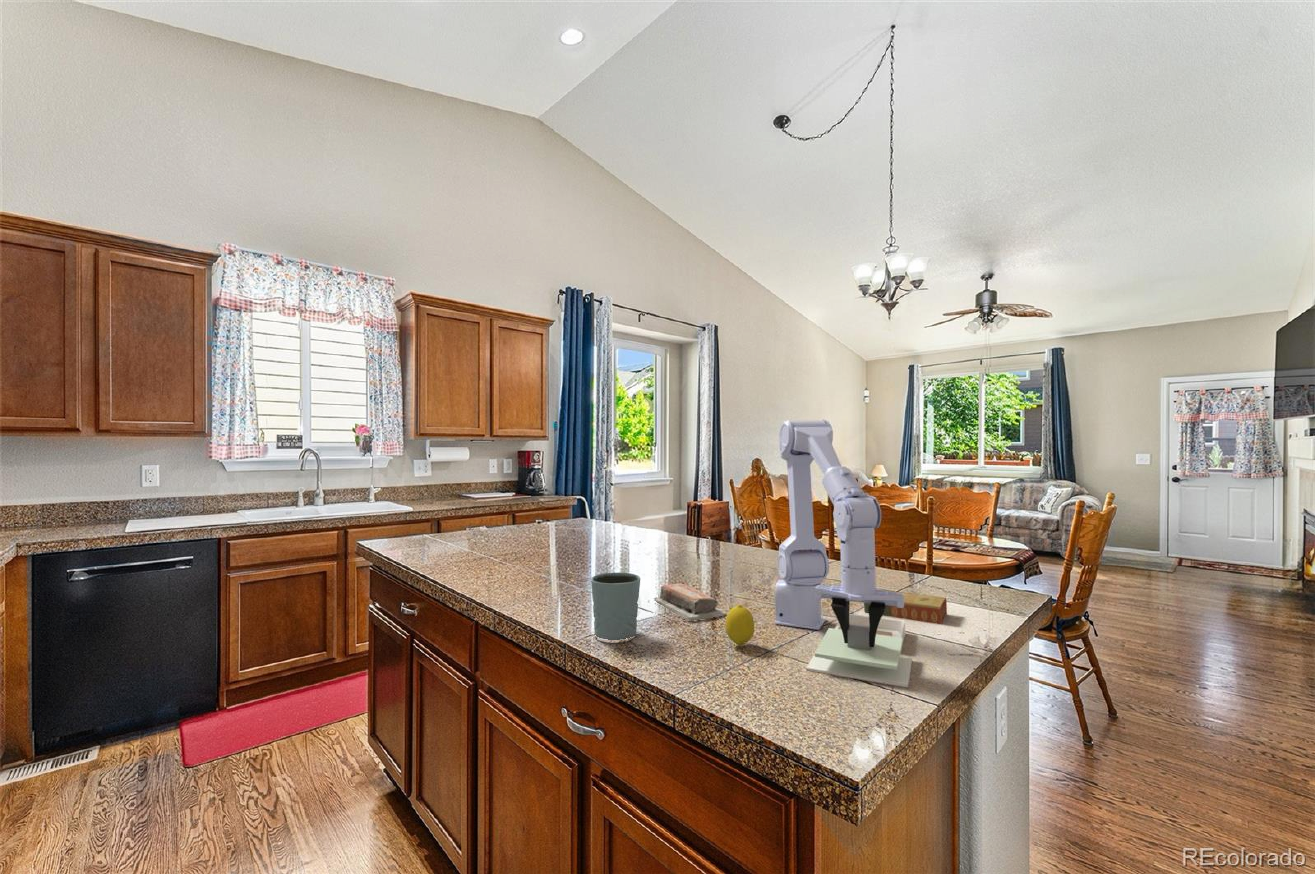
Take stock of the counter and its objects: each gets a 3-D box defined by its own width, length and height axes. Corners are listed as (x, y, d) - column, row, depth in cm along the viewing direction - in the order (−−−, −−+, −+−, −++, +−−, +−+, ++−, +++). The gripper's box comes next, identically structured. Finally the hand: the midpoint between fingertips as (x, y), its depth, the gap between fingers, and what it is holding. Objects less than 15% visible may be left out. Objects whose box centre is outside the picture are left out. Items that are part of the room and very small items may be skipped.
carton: (941, 626, 117) (941, 606, 117) (863, 614, 127) (863, 595, 127) (947, 615, 124) (946, 596, 124) (872, 604, 133) (872, 587, 134)
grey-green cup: (581, 636, 114) (581, 578, 114) (617, 624, 121) (616, 569, 121) (615, 648, 107) (614, 586, 107) (651, 634, 114) (650, 576, 115)
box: (833, 643, 108) (833, 630, 108) (843, 624, 118) (843, 613, 118) (901, 653, 102) (900, 639, 102) (905, 632, 113) (905, 620, 113)
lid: (814, 660, 94) (814, 635, 94) (829, 634, 106) (828, 612, 106) (897, 674, 88) (896, 647, 88) (903, 644, 100) (902, 621, 100)
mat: (806, 669, 95) (806, 667, 95) (820, 646, 106) (820, 644, 106) (907, 687, 88) (907, 684, 88) (912, 660, 98) (912, 658, 98)
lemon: (756, 642, 109) (755, 601, 109) (752, 652, 104) (751, 609, 104) (729, 639, 111) (728, 599, 111) (723, 649, 105) (722, 607, 105)
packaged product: (652, 584, 138) (687, 579, 142) (652, 604, 138) (687, 598, 142) (689, 602, 122) (726, 596, 126) (689, 624, 122) (727, 617, 126)
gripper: (811, 566, 97) (812, 644, 97) (901, 574, 90) (903, 657, 90) (819, 558, 103) (820, 631, 103) (904, 565, 96) (905, 643, 96)
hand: (859, 643), depth 97 cm, fingers closed on lid, 3 cm apart
